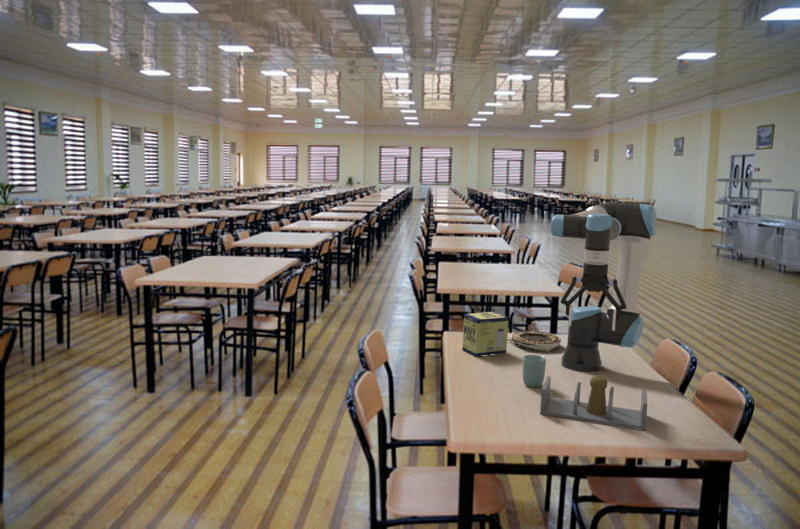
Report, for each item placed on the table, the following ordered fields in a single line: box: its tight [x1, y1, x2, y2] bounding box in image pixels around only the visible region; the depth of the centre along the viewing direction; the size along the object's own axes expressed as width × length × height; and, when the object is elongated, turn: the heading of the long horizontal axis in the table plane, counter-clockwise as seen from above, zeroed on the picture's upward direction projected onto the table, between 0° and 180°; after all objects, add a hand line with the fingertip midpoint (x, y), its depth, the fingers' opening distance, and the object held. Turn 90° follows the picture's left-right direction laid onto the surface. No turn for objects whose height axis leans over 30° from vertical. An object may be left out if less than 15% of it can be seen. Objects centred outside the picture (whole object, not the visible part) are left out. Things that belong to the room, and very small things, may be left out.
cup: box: [521, 354, 547, 388], centre depth 226 cm, size 8×8×10 cm
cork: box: [586, 376, 608, 415], centre depth 200 cm, size 6×6×11 cm
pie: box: [507, 330, 562, 352], centre depth 279 cm, size 28×27×5 cm
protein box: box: [461, 311, 509, 357], centre depth 266 cm, size 10×16×16 cm
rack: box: [539, 375, 648, 430], centre depth 201 cm, size 30×14×8 cm, turn 71°
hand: (591, 327), depth 209 cm, fingers open, 13 cm apart
